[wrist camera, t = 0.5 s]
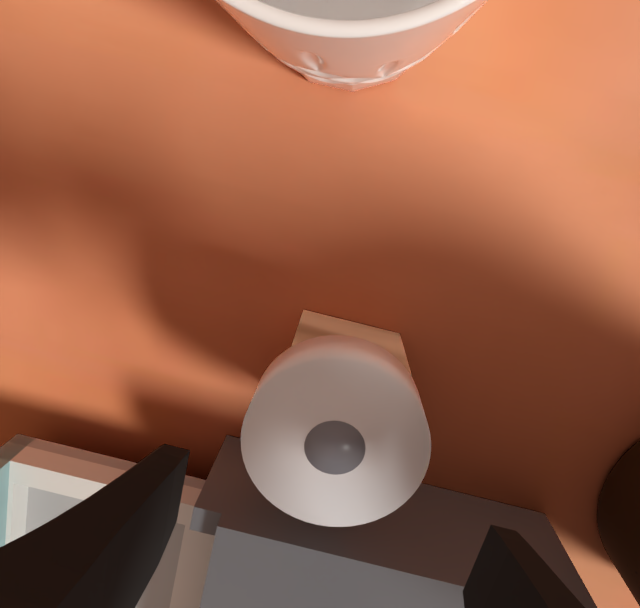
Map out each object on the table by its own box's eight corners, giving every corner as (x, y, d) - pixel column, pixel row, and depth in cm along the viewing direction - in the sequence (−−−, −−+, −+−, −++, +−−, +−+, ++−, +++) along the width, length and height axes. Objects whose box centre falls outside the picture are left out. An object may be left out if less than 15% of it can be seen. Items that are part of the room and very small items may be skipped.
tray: (248, 668, 23) (232, 743, 20) (6, 609, 23) (-45, 676, 20) (293, 501, 20) (283, 559, 17) (17, 433, 20) (-41, 480, 17)
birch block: (373, 419, 20) (378, 477, 16) (282, 396, 20) (266, 450, 16) (399, 333, 19) (411, 375, 15) (303, 309, 19) (291, 345, 15)
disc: (357, 512, 17) (358, 556, 15) (223, 430, 16) (206, 466, 14) (456, 395, 15) (471, 428, 14) (312, 301, 15) (306, 322, 13)
